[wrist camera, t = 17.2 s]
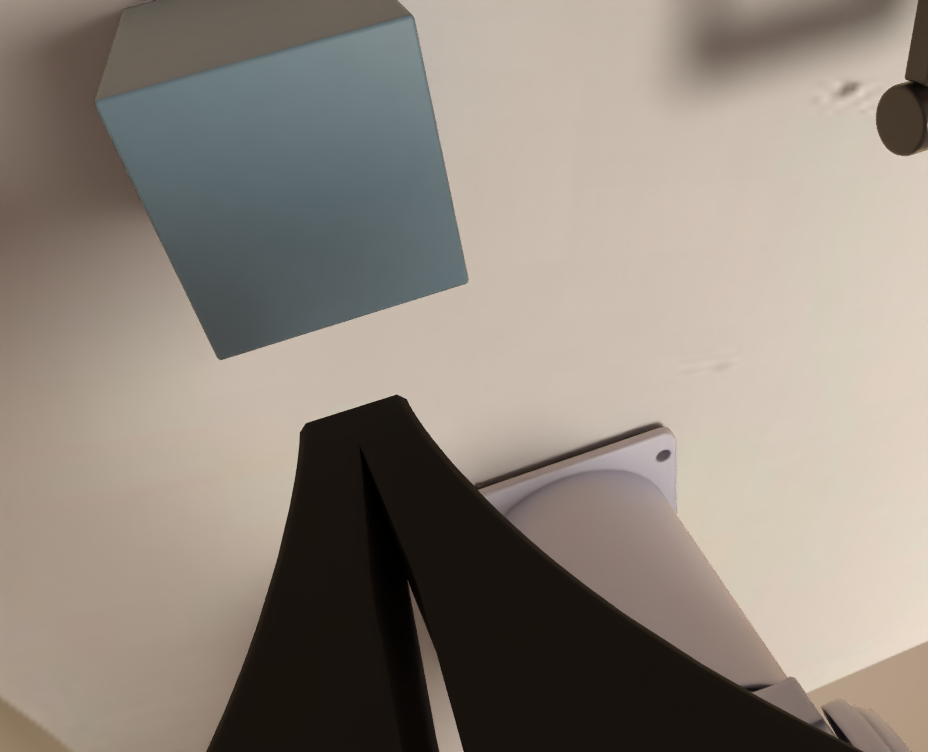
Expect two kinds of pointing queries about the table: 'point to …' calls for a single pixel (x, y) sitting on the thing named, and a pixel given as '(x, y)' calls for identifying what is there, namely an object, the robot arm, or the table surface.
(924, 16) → the drawer
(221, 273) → the box
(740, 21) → the table surface
